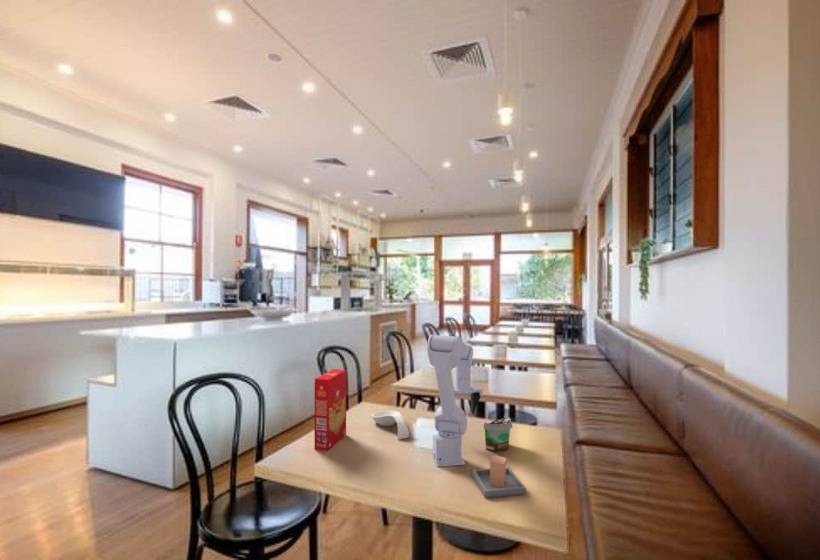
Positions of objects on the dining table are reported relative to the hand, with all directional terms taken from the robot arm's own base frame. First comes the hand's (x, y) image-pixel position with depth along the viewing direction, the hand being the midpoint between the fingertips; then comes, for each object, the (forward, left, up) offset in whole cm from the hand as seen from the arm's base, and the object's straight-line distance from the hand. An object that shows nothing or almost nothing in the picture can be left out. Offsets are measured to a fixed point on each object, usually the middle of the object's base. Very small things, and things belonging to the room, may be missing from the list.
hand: (462, 413), depth 149 cm
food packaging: (-48, +6, -11) cm, 50 cm away
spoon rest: (-24, +16, -11) cm, 31 cm away
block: (+2, -31, -10) cm, 32 cm away
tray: (+2, -31, -10) cm, 33 cm away
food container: (+12, -8, -11) cm, 18 cm away
